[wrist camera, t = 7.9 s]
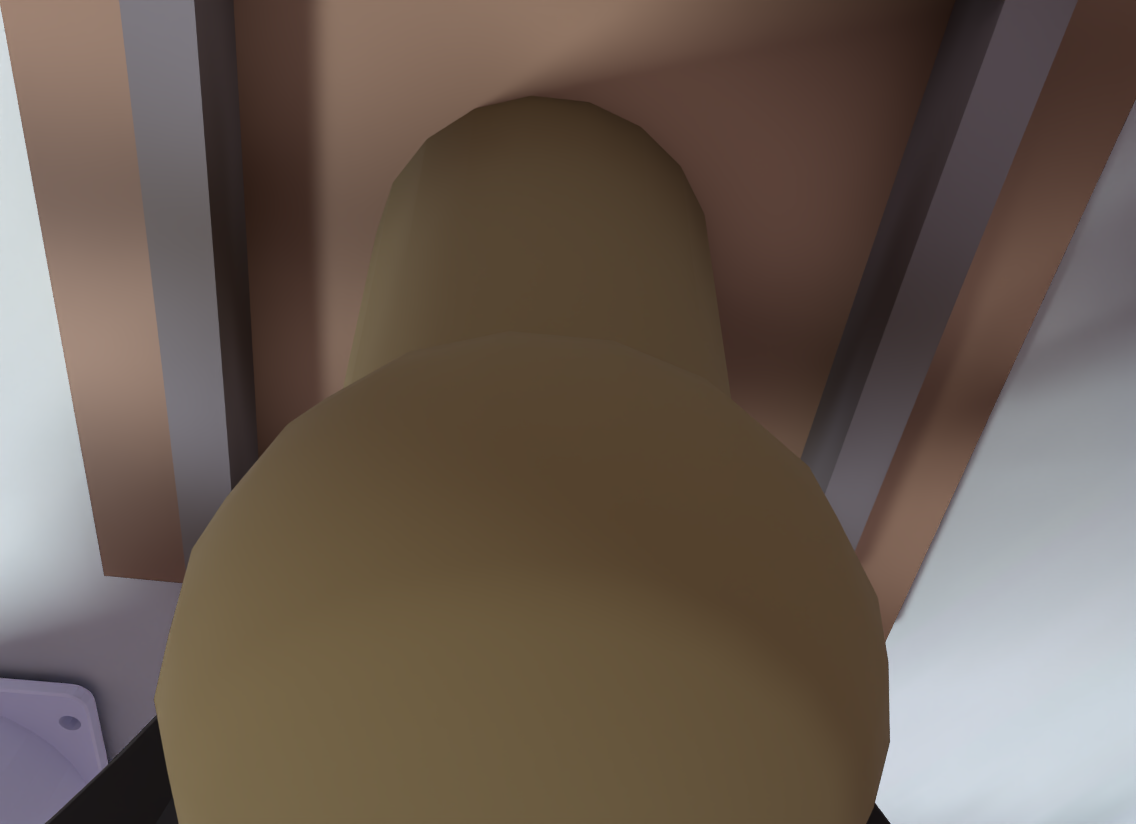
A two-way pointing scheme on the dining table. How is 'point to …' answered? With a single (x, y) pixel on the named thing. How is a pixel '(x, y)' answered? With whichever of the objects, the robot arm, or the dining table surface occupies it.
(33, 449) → the dining table surface
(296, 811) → the cork
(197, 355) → the framed serving tray
